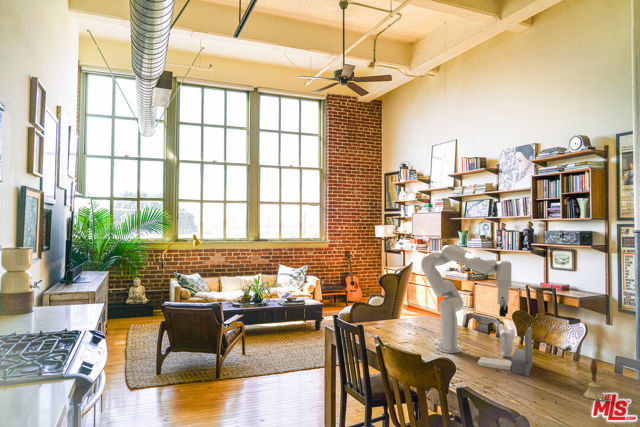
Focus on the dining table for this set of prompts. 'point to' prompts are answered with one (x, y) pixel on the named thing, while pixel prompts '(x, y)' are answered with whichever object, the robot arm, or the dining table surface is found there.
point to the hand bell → (594, 384)
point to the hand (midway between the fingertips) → (503, 314)
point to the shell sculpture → (506, 340)
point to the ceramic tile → (495, 363)
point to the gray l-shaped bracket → (523, 356)
